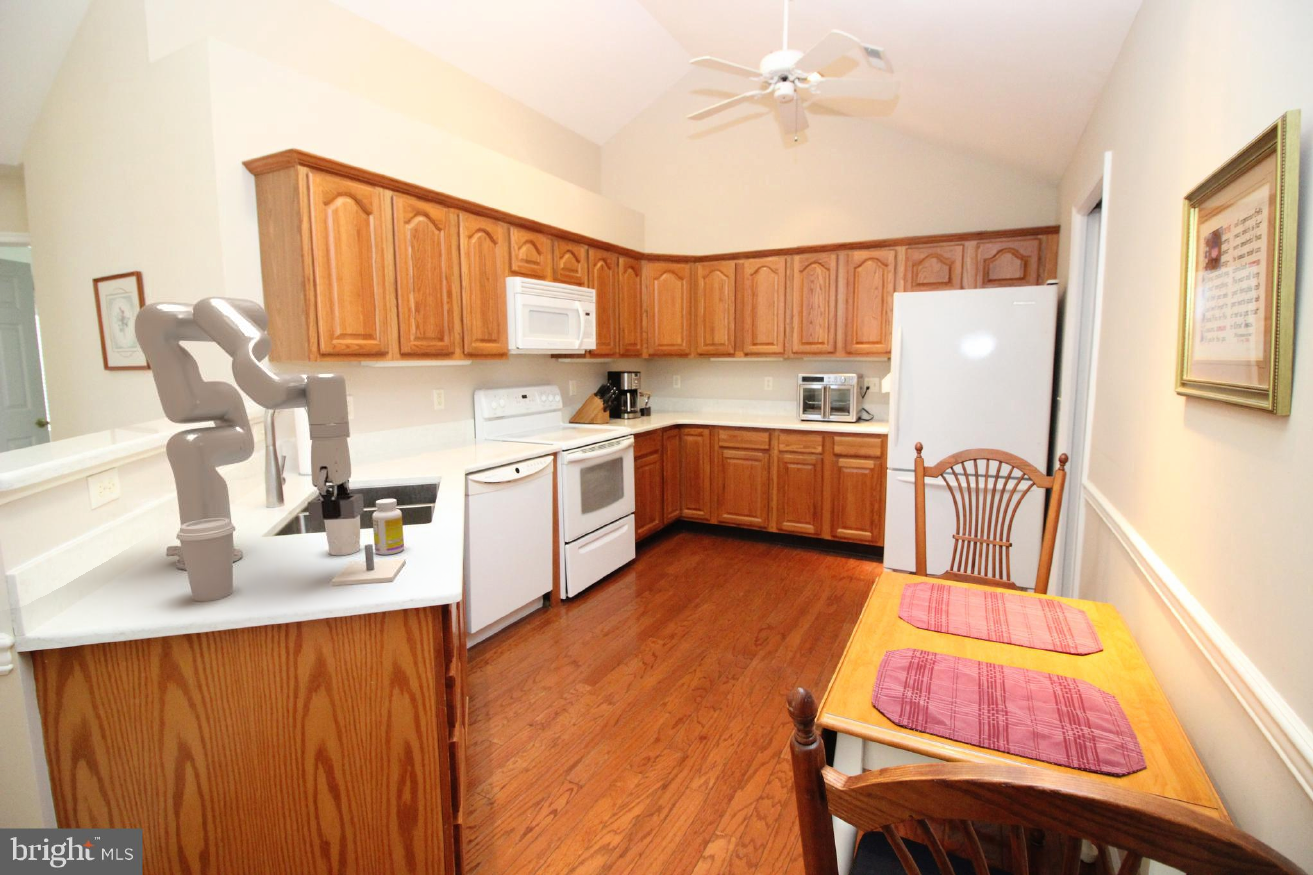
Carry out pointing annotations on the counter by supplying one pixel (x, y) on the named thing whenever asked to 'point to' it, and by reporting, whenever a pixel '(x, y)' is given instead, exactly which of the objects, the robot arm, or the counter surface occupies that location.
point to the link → (347, 507)
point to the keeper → (369, 570)
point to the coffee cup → (208, 557)
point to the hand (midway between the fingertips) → (337, 513)
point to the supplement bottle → (387, 527)
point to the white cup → (343, 536)
